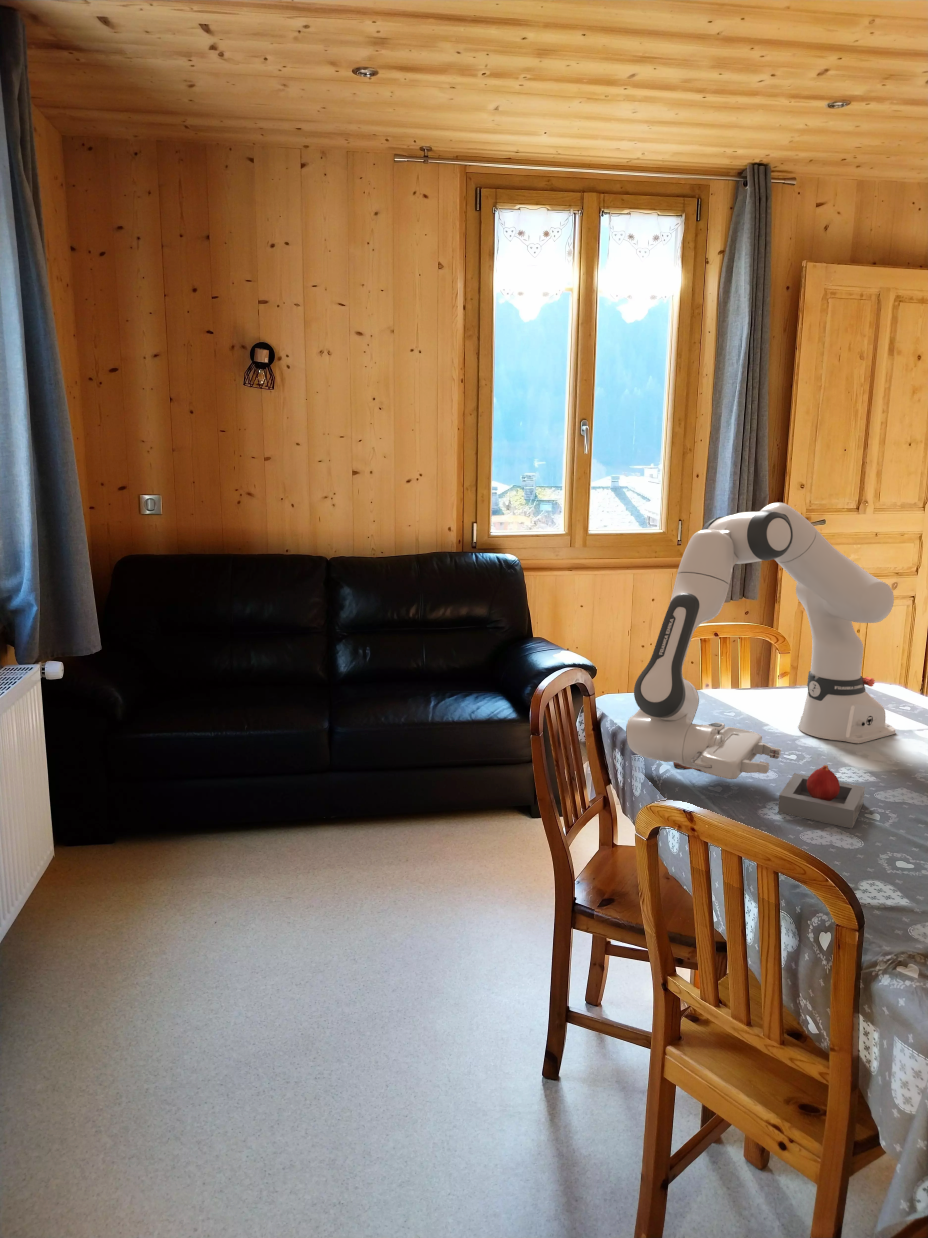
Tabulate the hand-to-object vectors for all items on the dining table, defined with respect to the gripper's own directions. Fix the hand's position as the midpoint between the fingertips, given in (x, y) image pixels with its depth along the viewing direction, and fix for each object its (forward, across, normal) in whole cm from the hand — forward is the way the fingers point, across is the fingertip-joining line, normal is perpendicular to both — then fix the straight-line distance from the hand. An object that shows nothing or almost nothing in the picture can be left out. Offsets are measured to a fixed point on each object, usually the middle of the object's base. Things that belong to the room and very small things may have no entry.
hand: (774, 761), depth 171 cm
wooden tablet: (-20, +19, +8) cm, 29 cm away
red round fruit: (+9, 0, +7) cm, 12 cm away
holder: (+9, 0, +8) cm, 12 cm away
